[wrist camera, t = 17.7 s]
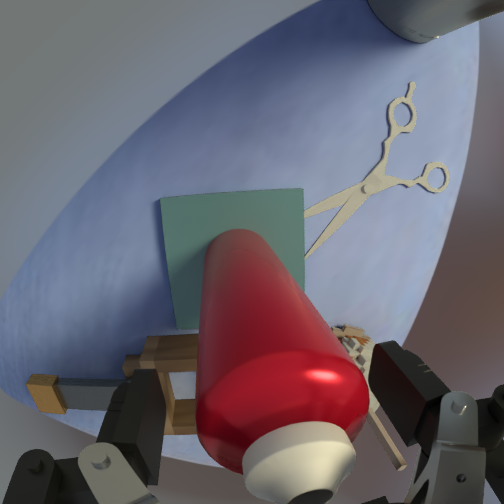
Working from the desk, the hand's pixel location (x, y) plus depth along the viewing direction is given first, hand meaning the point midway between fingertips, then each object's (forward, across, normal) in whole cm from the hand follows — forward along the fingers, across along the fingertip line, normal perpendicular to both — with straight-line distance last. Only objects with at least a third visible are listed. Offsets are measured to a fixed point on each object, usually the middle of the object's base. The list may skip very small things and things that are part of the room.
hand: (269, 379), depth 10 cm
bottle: (+15, 0, 0) cm, 15 cm away
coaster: (+16, 0, 0) cm, 16 cm away
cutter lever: (+13, +16, +11) cm, 23 cm away
